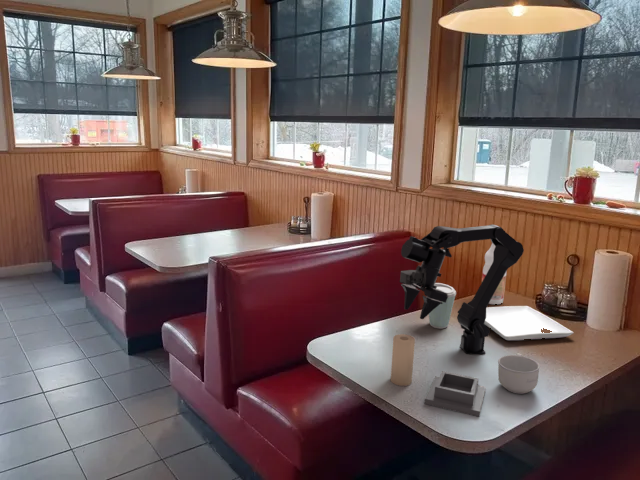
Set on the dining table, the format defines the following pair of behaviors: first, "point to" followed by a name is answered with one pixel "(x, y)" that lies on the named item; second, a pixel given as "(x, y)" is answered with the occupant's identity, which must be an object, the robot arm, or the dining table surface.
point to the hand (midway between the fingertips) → (413, 314)
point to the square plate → (522, 323)
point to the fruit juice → (499, 292)
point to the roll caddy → (456, 393)
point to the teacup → (518, 373)
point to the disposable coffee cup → (442, 308)
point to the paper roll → (402, 359)
